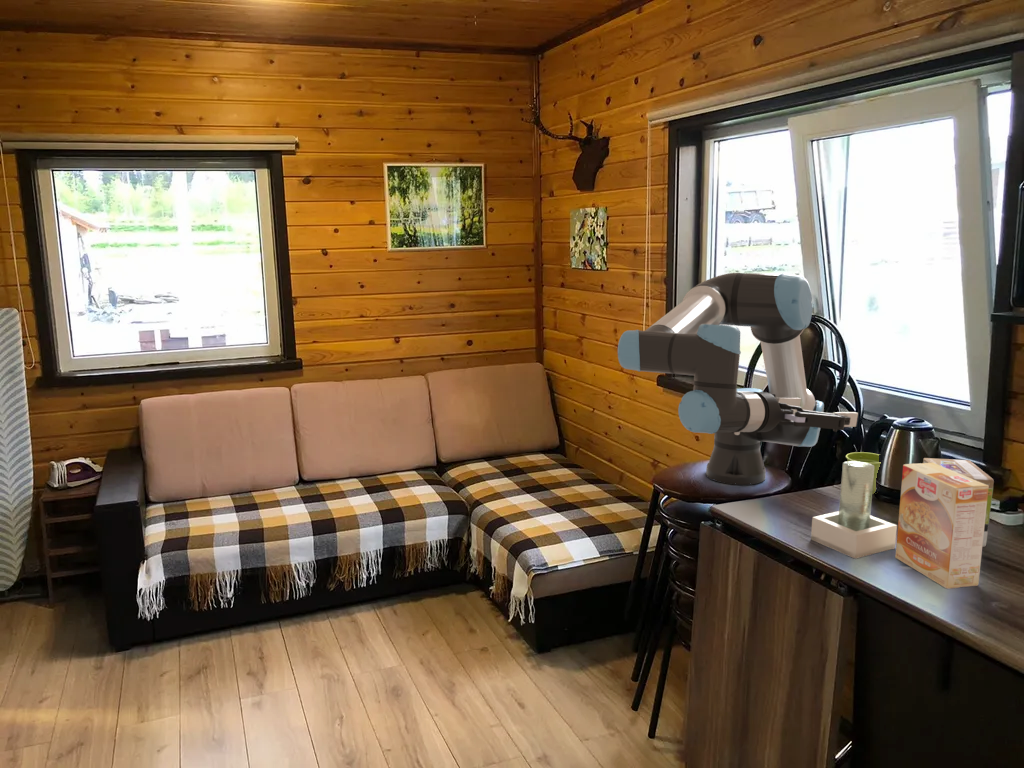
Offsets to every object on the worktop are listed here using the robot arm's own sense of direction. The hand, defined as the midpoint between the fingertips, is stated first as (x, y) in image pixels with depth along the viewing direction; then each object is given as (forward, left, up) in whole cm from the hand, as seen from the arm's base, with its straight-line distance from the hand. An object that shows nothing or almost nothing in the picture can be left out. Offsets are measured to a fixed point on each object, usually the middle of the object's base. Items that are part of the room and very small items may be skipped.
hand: (826, 411), depth 164 cm
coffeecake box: (+19, +11, -29) cm, 36 cm away
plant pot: (-21, +38, -29) cm, 53 cm away
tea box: (+7, +32, -29) cm, 44 cm away
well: (+2, +8, -29) cm, 30 cm away
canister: (+2, +8, -28) cm, 29 cm away
